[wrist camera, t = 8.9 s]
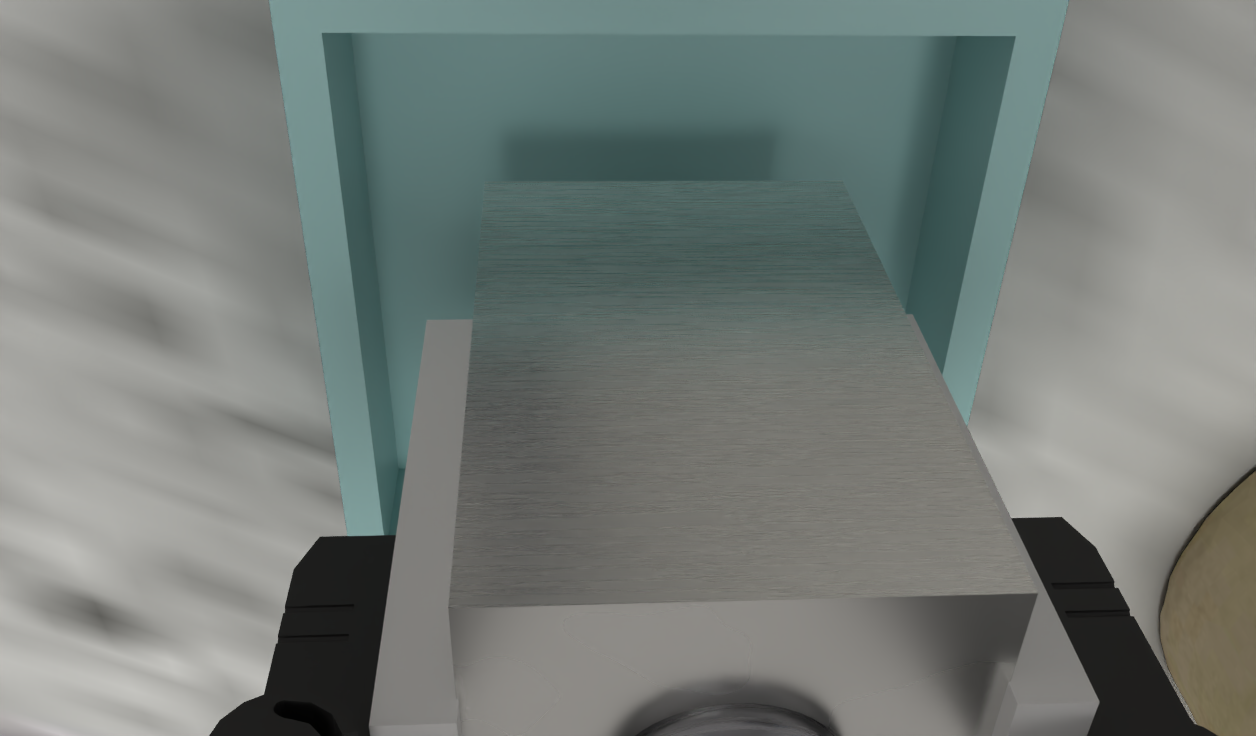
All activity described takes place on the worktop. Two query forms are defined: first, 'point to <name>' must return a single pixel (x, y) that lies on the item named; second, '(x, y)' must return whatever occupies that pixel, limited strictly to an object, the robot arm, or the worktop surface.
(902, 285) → the parts tray
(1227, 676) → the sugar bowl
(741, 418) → the steel cube with knob
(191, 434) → the worktop surface
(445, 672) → the robot arm
